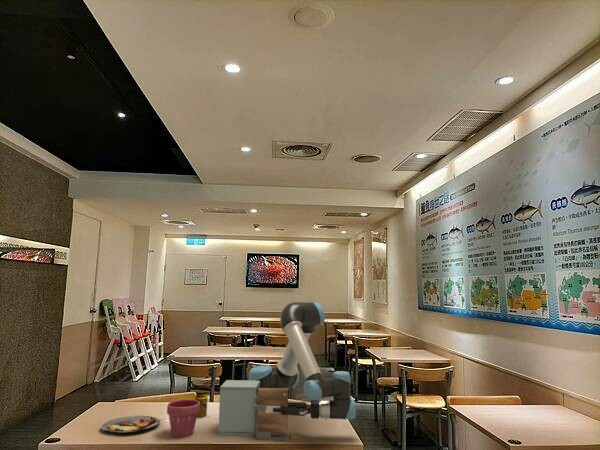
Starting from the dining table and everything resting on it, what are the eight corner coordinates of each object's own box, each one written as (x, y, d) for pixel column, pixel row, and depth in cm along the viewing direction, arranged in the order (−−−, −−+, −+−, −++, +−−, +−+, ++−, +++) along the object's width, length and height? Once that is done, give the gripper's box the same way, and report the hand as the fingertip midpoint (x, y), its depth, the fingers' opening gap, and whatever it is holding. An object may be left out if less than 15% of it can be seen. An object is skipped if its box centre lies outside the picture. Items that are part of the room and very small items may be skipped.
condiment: (209, 417, 209) (210, 391, 211) (192, 419, 204) (194, 393, 206) (204, 413, 215) (205, 389, 217) (188, 415, 210) (189, 390, 212)
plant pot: (162, 431, 187) (164, 401, 189) (193, 426, 193) (195, 397, 195) (169, 441, 174) (171, 409, 176) (202, 436, 181) (204, 404, 183)
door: (258, 431, 182) (259, 387, 185) (287, 431, 182) (288, 388, 185) (256, 434, 178) (257, 390, 181) (287, 435, 178) (287, 390, 181)
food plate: (169, 422, 198) (170, 414, 199) (136, 439, 177) (136, 430, 177) (127, 418, 206) (127, 411, 207) (89, 434, 185) (90, 425, 185)
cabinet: (225, 424, 197) (226, 380, 200) (290, 425, 196) (291, 381, 199) (215, 438, 178) (217, 389, 181) (287, 440, 177) (288, 390, 180)
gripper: (319, 424, 173) (263, 423, 174) (319, 413, 189) (267, 412, 190) (319, 405, 174) (263, 404, 175) (319, 395, 190) (268, 394, 191)
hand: (266, 408), depth 182 cm, fingers closed on door, 3 cm apart
